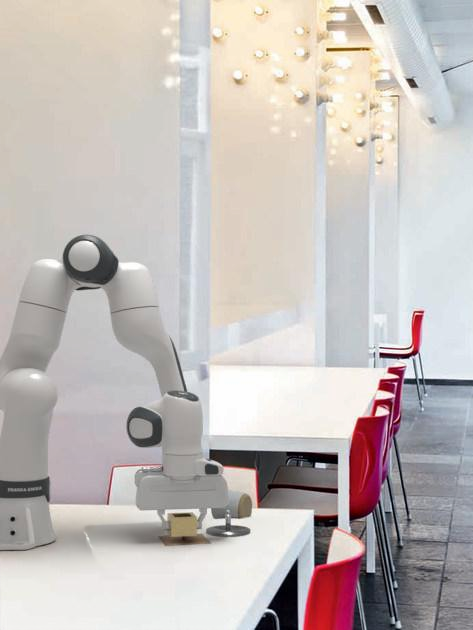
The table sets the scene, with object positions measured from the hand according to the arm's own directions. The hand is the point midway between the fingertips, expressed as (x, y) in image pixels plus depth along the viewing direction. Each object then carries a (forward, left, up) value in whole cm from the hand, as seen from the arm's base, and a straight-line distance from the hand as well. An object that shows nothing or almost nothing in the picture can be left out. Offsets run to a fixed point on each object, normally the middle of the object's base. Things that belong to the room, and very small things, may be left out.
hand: (182, 529), depth 242 cm
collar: (0, 0, -1) cm, 1 cm away
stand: (+1, +1, -4) cm, 4 cm away
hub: (+12, +6, -4) cm, 13 cm away
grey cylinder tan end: (+17, +26, -4) cm, 31 cm away
